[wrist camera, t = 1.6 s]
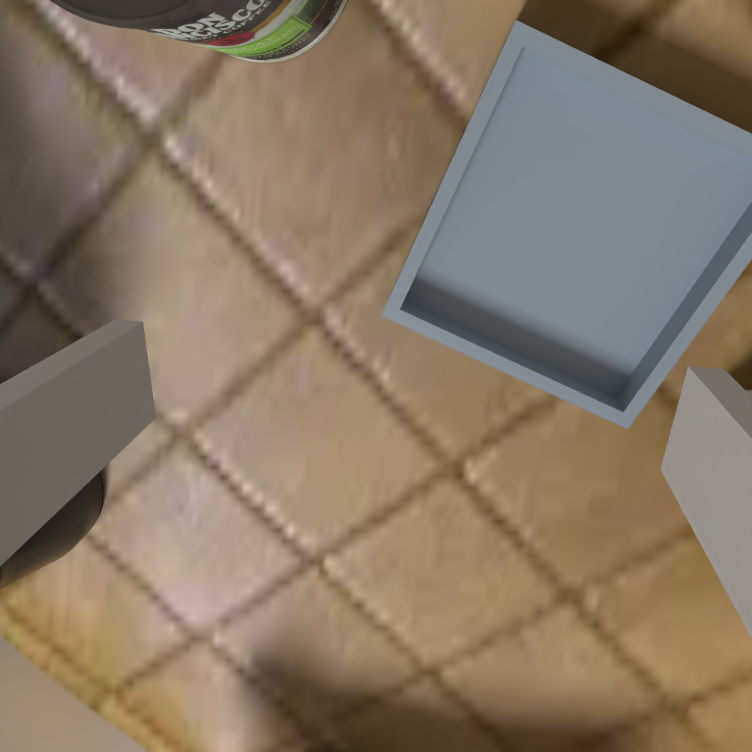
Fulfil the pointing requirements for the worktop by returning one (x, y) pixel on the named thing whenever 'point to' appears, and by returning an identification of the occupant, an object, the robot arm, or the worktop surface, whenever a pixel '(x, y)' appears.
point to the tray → (580, 229)
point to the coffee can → (222, 23)
